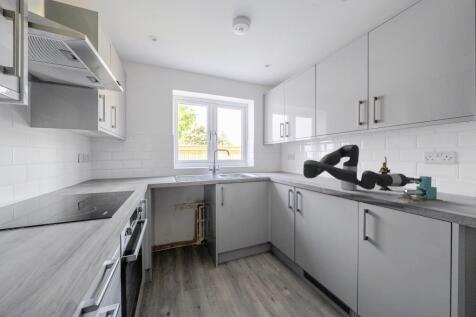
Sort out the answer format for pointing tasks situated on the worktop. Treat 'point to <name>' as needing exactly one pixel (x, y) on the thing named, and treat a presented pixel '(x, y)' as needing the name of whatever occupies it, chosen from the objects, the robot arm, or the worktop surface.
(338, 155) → the robot arm
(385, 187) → the figurine
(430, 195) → the sleeve
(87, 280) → the worktop surface
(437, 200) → the board
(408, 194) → the pipe
